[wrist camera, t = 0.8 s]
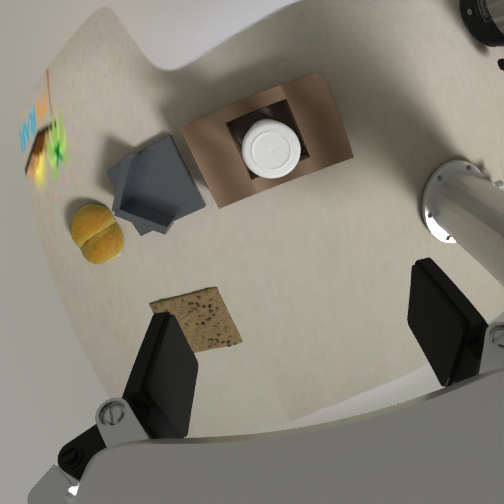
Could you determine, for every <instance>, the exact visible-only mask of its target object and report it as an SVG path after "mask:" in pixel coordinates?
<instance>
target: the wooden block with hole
mask: <svg viewBox="0 0 504 504" xmlns="http://www.w3.org/2000/svg"><path fill="white" fill-rule="evenodd" d="M282 100H283V101H284V103H285V105H286V108H287V110H288V112H289V115H290V117H291V120H292V122H293V124H294V127H295V129H296V132H297V134H298V137H299V139H300V142H301V144H302V147H303V149H304V152H302V153H300V158H299V161H298V163H297V165H296V166H295V167H294V169H293V170H292V171H290V172H289V173H288V174H286V175H284V176H282V177H279V178H264V177H261V176H258V175H256V174H255V173H253V172H252V171H251V170H250V169H249V168H248V167H247V165H246V164H245V162H244V159H243V156H242V148H241V145H240V143H239V141H238V139H237V137H236V134H235V132H234V130H233V128H232V126H231V123H230V121H232V120H234V119H236V118H239V117H241V116H243V115H246V114H248V113H251V112H253V111H256V110H258V109H261V108H263V107H266V106H268V105H271V104H274V103H276V102H279V101H282ZM180 130H181V132H182V134H183V136H184V138H185V140H186V142H187V144H188V146H189V148H190V151H191V153H192V155H193V157H194V159H195V161H196V163H197V165H198V167H199V169H200V171H201V173H202V175H203V177H204V179H205V181H206V183H207V186H208V188H209V190H210V192H211V194H212V196H213V198H214V200H215V202H216V204H217V206H218V208H219V209H220V208H222V207H224V206H227V205H229V204H232V203H234V202H237V201H239V200H242V199H244V198H246V197H249V196H251V195H254V194H256V193H259V192H262V191H264V190H267V189H269V188H272V187H274V186H277V185H279V184H282V183H285V182H287V181H290V180H293V179H295V178H298V177H301V176H303V175H306V174H309V173H311V172H314V171H317V170H320V169H322V168H325V167H328V166H331V165H333V164H336V163H339V162H342V161H345V160H348V159H351V158H353V157H354V156H353V153H352V150H351V147H350V144H349V141H348V138H347V135H346V133H345V130H344V127H343V124H342V121H341V119H340V116H339V113H338V111H337V108H336V106H335V103H334V101H333V98H332V96H331V93H330V91H329V88H328V86H327V83H326V81H325V79H324V76H323V74H322V72H317V73H314V74H311V75H308V76H305V77H302V78H299V79H296V80H293V81H290V82H287V83H284V84H281V85H279V86H276V87H273V88H270V89H268V90H265V91H263V92H260V93H257V94H255V95H252V96H250V97H247V98H245V99H243V100H240V101H238V102H235V103H233V104H231V105H228V106H226V107H224V108H222V109H219V110H217V111H215V112H213V113H211V114H208V115H206V116H204V117H202V118H200V119H198V120H196V121H194V122H192V123H190V124H188V125H186V126H184V127H182V128H180Z"/></svg>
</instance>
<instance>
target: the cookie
mask: <svg viewBox="0 0 504 504" xmlns="http://www.w3.org/2000/svg"><path fill="white" fill-rule="evenodd" d="M150 306H151V308H152V310H153V311H154V314H155V313H160V312H166V311H168V312H169V313H170V314H174V315H175V317H176V319H177V321H178V323H179V325H180V327H181V329H182V331H183V333H184V335H185V337H186V339H187V341H188V343H189V345H190V347H191V349H192V351H193V353H195V352H201V351H205V350H210V349H213V348H220V347H227V346H228V347H230V346H232V345H237V344H238V343H242V342H243V341H242V339H241V337H240V334H239V332H238V330H237V328H236V326H235V324H234V322H233V320H232V318H231V316H230V314H229V312H228V310H227V307H226V306H225V304H224V301H223V299H222V297H221V295H220V293H219V291H218V288H217V287H212V288H206V289H204V290H200V291H195V292H192V293H189V294H184V295H181V296H176V297H172V298H169V299H164V300H161V301H156V302H152V303H150Z"/></svg>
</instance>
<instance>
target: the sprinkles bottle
mask: <svg viewBox="0 0 504 504" xmlns="http://www.w3.org/2000/svg"><path fill="white" fill-rule="evenodd" d="M300 152H301V148H300V142H299V140H298V138H297V136H296V134H295V133H294V132H293V130H292V129H291V128H289V127H288V126H287V125H285V124H283V123H281V122H278V121H277V120H275V119H272V118H262V119H259V120H258V121H256V122H254V123H253V124H252V125H251V127H250V129H249V131H248V132H247V133H246V135H245V137H244V140H243V143H242V156H243V159H244V162H245V164H246V165H247V167H248V168H249V169H250V170H251V171H252V172H253V173H255V174H256V175H258V176H261V177H264V178H279V177H282V176H284V175H286V174H288V173H289V172H290V171H292V170H293V169H294V167H295V166H296V165H297V163H298V161H299V158H300Z"/></svg>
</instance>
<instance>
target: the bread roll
mask: <svg viewBox="0 0 504 504" xmlns="http://www.w3.org/2000/svg"><path fill="white" fill-rule="evenodd" d="M71 235H72V239H73V241H74V242H75V244H76V245H77V246H78V247H79V248H80V249H81V251H82V254H83V256H84V257H85V258H86V259H87V260H88V261H89V262H91V263H93V264H104V263H107V262H109V261H111V260H113V259H115V258H117V257H118V256H120V255H121V254H122V253H123V246H124V237H123V233H122V231H121V228H120V227H119V225H118V224H117V222H116V220H115V219H114V216H113V215H112V213H111V211H110V210H109V209H108V208H107V207H105V206H101V205H96V204H88V205H85V206H83V207H81V208H80V209H79V210H78V211H77V212H76V213H75V215H74V217H73V219H72V222H71Z"/></svg>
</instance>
